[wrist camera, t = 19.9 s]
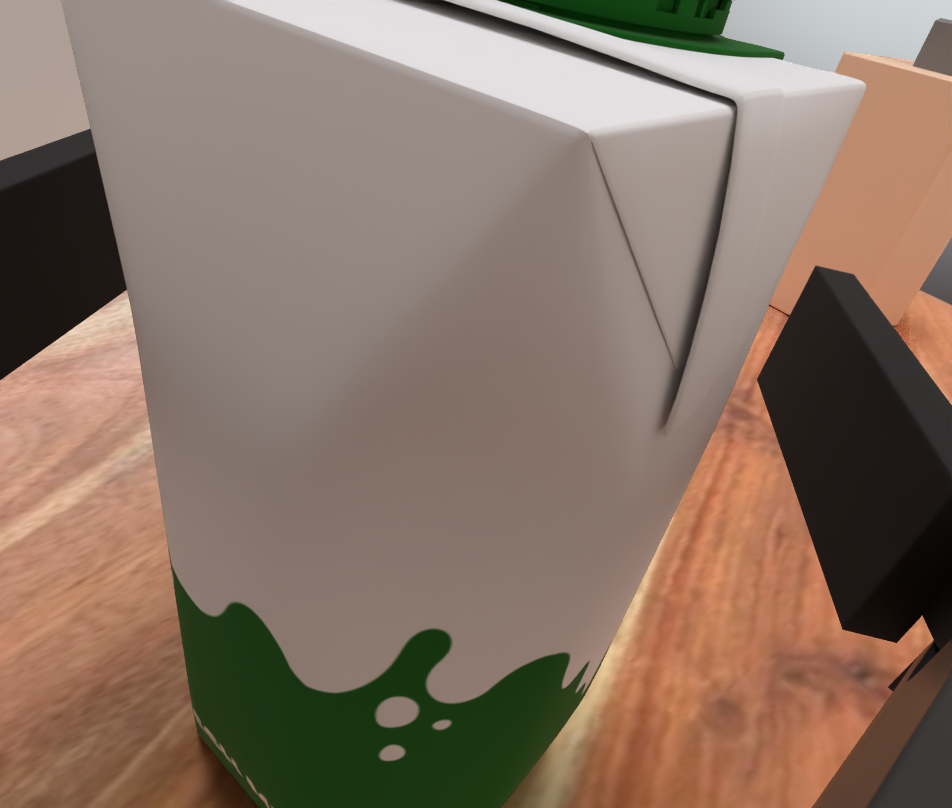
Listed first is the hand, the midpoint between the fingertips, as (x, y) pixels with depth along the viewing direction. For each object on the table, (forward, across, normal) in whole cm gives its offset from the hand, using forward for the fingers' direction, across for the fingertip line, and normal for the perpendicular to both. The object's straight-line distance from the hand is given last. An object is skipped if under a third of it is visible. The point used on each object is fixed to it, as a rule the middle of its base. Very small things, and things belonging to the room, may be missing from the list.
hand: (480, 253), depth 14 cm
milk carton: (-3, 0, -14) cm, 14 cm away
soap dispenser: (+38, +21, -14) cm, 45 cm away
